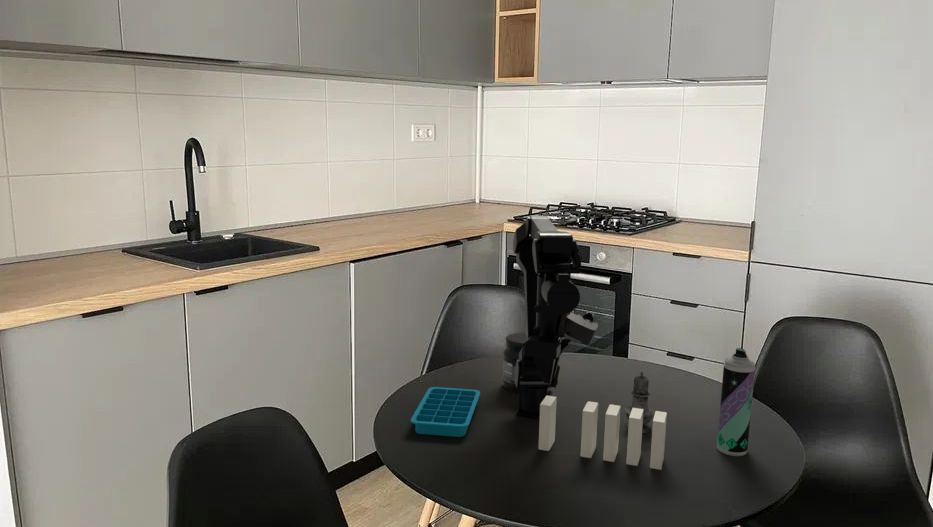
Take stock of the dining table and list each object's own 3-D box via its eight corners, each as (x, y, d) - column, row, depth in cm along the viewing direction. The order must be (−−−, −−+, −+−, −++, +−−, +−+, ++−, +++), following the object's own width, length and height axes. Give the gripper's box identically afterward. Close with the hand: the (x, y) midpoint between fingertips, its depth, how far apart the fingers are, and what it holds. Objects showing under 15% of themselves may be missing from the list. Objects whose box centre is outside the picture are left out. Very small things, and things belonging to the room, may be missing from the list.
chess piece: (653, 434, 144) (657, 377, 141) (623, 432, 145) (627, 375, 143) (652, 423, 149) (656, 368, 147) (623, 420, 150) (626, 365, 148)
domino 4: (626, 464, 131) (629, 417, 129) (629, 452, 136) (632, 407, 134) (637, 465, 130) (640, 419, 129) (640, 454, 135) (643, 409, 133)
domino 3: (603, 460, 132) (605, 414, 131) (607, 449, 137) (609, 404, 135) (614, 462, 132) (616, 415, 130) (618, 450, 136) (620, 405, 135)
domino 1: (538, 449, 136) (540, 404, 135) (544, 439, 141) (546, 395, 139) (548, 451, 136) (550, 405, 134) (554, 440, 140) (556, 396, 139)
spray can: (712, 444, 140) (720, 345, 136) (739, 443, 140) (748, 344, 137) (724, 456, 134) (733, 354, 131) (752, 455, 135) (762, 353, 131)
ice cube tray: (409, 436, 142) (409, 422, 142) (429, 399, 162) (429, 386, 161) (467, 441, 140) (467, 426, 140) (480, 402, 160) (481, 390, 159)
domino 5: (649, 468, 130) (652, 420, 128) (652, 456, 134) (655, 410, 133) (661, 469, 129) (664, 422, 127) (663, 458, 134) (666, 412, 132)
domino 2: (580, 456, 134) (582, 410, 132) (585, 445, 138) (587, 401, 137) (591, 458, 133) (593, 412, 131) (595, 447, 138) (598, 402, 136)
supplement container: (551, 382, 173) (553, 334, 170) (541, 397, 163) (542, 346, 161) (508, 377, 176) (510, 329, 174) (496, 391, 166) (497, 341, 164)
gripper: (586, 316, 122) (582, 403, 125) (604, 293, 139) (600, 370, 142) (522, 309, 125) (520, 394, 128) (547, 288, 143) (545, 363, 146)
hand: (549, 380), depth 136 cm, fingers open, 3 cm apart
